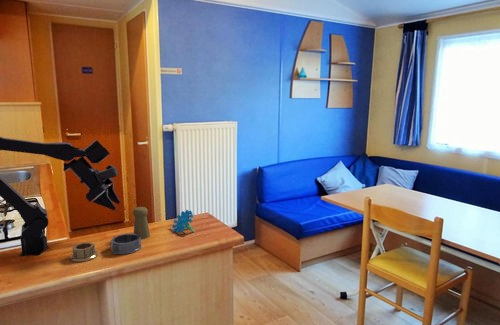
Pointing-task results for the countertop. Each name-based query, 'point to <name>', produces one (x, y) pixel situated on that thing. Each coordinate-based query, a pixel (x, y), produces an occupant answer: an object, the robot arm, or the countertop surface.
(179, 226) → the gear
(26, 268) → the countertop surface
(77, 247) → the small collar
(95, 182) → the robot arm
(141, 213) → the cork
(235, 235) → the countertop surface
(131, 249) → the fitting collar
